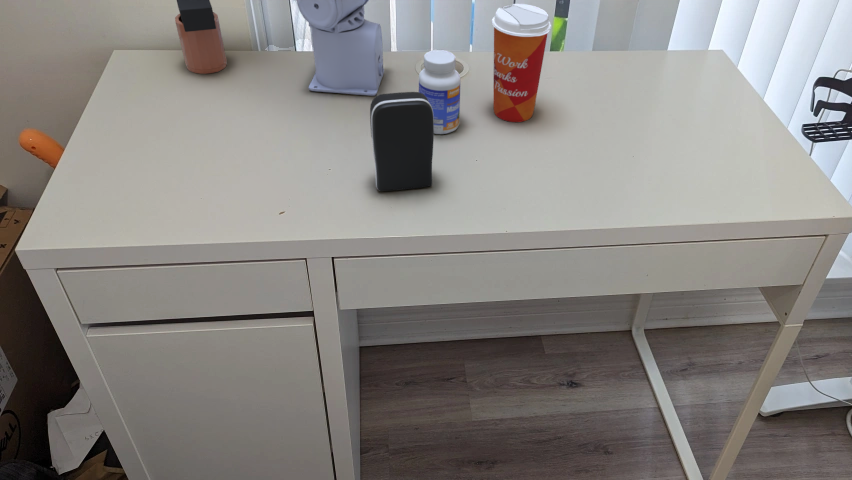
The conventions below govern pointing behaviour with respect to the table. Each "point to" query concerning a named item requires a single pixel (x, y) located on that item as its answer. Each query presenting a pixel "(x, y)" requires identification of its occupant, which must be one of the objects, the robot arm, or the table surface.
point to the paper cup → (518, 59)
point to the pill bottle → (441, 89)
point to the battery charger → (402, 140)
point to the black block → (196, 15)
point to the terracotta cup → (202, 48)
